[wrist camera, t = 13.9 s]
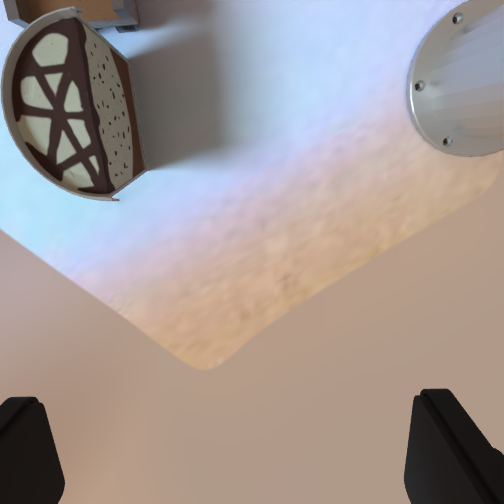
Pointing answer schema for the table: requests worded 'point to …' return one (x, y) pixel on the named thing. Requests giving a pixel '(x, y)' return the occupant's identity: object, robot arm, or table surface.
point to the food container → (73, 106)
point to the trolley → (96, 13)
